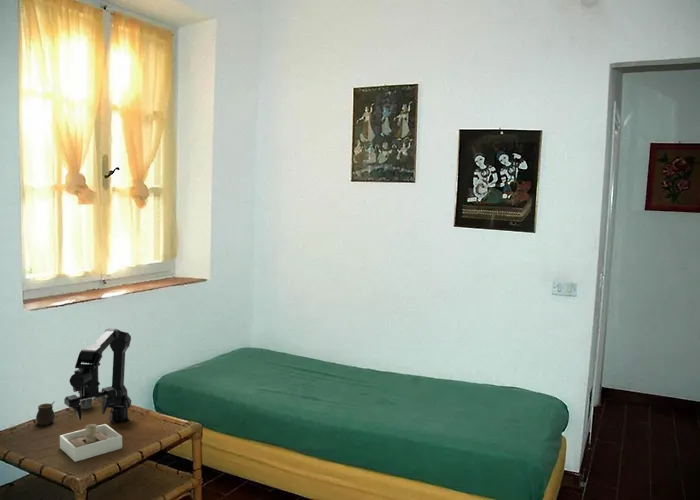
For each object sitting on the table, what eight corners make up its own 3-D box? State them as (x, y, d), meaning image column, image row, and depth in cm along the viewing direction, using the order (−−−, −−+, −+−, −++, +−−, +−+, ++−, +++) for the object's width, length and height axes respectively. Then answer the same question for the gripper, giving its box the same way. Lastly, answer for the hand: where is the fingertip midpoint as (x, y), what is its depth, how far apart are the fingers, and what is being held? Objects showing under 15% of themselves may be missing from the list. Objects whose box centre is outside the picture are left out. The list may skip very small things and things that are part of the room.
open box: (105, 435, 241) (105, 423, 241) (122, 448, 230) (122, 436, 230) (59, 447, 229) (59, 435, 228) (74, 461, 217) (74, 449, 217)
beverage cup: (98, 405, 274) (97, 364, 272) (86, 410, 267) (86, 368, 265) (85, 403, 276) (85, 362, 274) (74, 408, 269) (73, 366, 267)
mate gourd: (38, 420, 255) (38, 398, 254) (57, 419, 256) (57, 397, 255) (33, 426, 248) (33, 404, 247) (53, 426, 249) (53, 403, 248)
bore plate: (100, 436, 238) (100, 431, 238) (112, 446, 229) (112, 441, 229) (69, 444, 229) (69, 439, 229) (81, 455, 221) (81, 450, 221)
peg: (94, 442, 232) (94, 423, 231) (98, 445, 229) (98, 426, 229) (84, 445, 229) (83, 425, 229) (87, 448, 227) (87, 428, 226)
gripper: (105, 369, 243) (106, 405, 245) (58, 379, 230) (59, 417, 232) (117, 376, 236) (117, 413, 238) (69, 387, 223) (70, 425, 224)
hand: (91, 417), depth 233 cm, fingers open, 9 cm apart
